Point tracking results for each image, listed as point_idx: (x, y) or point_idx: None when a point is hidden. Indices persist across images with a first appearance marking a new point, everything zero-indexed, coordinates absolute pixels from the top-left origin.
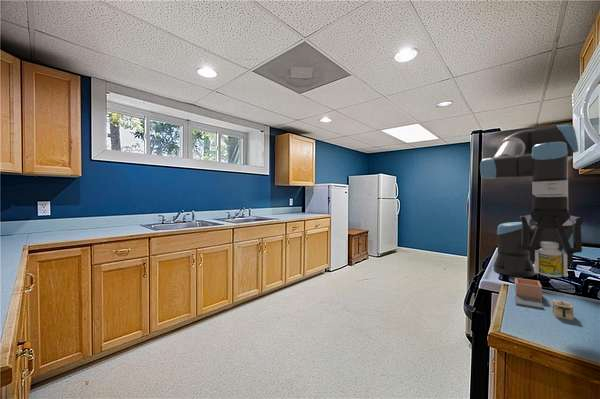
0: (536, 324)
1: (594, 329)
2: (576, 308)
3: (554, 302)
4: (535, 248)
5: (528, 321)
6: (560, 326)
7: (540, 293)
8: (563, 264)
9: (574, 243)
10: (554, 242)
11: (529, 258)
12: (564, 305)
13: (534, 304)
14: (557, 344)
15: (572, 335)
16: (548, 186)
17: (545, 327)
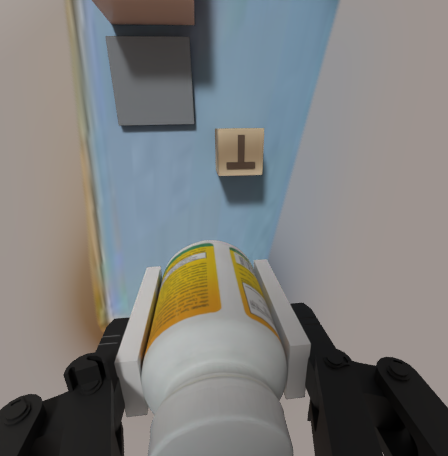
0: (172, 246)
1: (283, 203)
2: (283, 50)
3: (220, 157)
4: (121, 446)
5: (156, 239)
6: (219, 228)
7: (189, 13)
8: None
9: (416, 435)
10: (267, 441)
11: (107, 333)
12: (242, 170)
13: (169, 106)
14: None
15: None
16: None
17: None
